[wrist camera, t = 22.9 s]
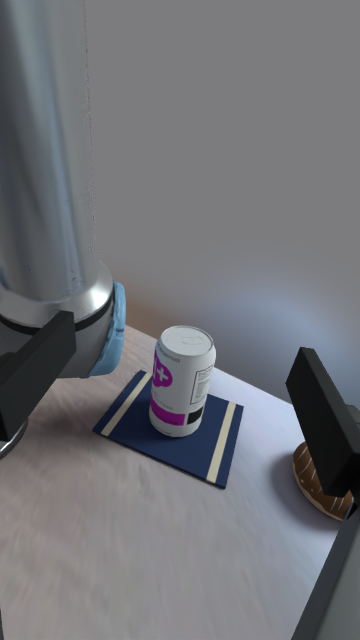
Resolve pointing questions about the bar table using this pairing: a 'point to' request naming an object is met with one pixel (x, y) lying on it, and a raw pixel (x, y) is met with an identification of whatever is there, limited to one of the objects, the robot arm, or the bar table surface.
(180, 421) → the white soda can
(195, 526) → the bar table surface
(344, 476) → the robot arm
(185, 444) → the tea towel
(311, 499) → the donut
